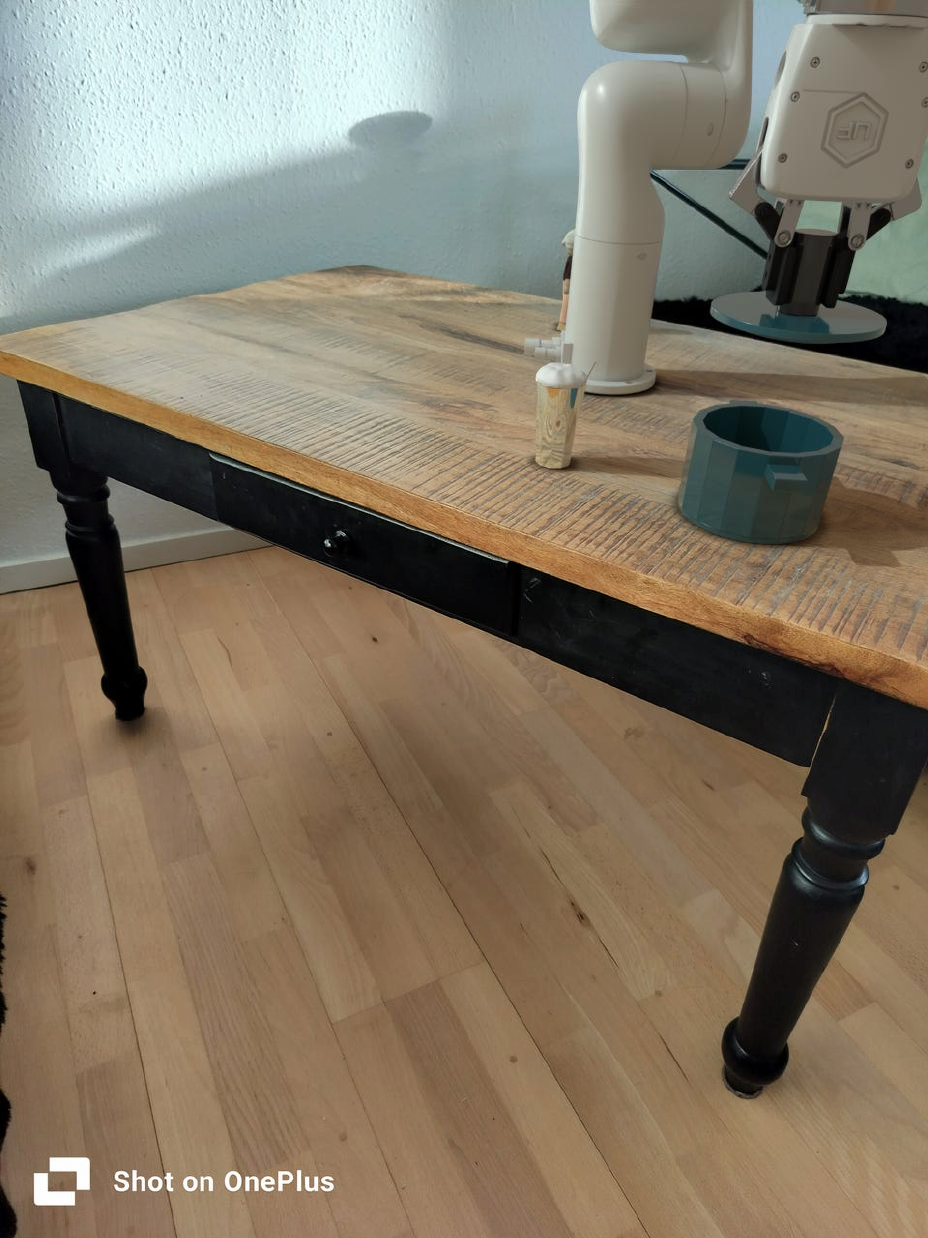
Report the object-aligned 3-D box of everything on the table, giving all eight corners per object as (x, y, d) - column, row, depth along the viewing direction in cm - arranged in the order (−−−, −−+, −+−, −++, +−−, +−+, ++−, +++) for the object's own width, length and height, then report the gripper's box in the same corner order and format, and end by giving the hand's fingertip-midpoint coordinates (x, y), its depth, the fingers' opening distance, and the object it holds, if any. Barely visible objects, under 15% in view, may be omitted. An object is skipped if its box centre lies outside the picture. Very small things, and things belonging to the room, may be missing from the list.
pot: (695, 556, 67) (714, 466, 63) (665, 467, 81) (679, 389, 77) (846, 565, 67) (875, 475, 62) (790, 474, 81) (810, 396, 77)
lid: (725, 346, 60) (746, 243, 57) (695, 303, 71) (711, 214, 67) (908, 355, 60) (940, 252, 56) (850, 311, 71) (875, 221, 67)
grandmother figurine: (584, 335, 118) (595, 234, 111) (556, 333, 118) (565, 233, 111) (578, 320, 124) (589, 224, 117) (552, 319, 124) (560, 223, 117)
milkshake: (571, 478, 78) (584, 368, 73) (519, 463, 80) (528, 356, 75) (593, 462, 81) (606, 355, 76) (542, 448, 84) (552, 344, 78)
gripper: (753, -9, 51) (697, 309, 62) (1032, 2, 51) (930, 321, 61) (728, -2, 58) (681, 286, 68) (976, 8, 57) (892, 296, 67)
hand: (799, 300), depth 64 cm, fingers closed on lid, 3 cm apart
